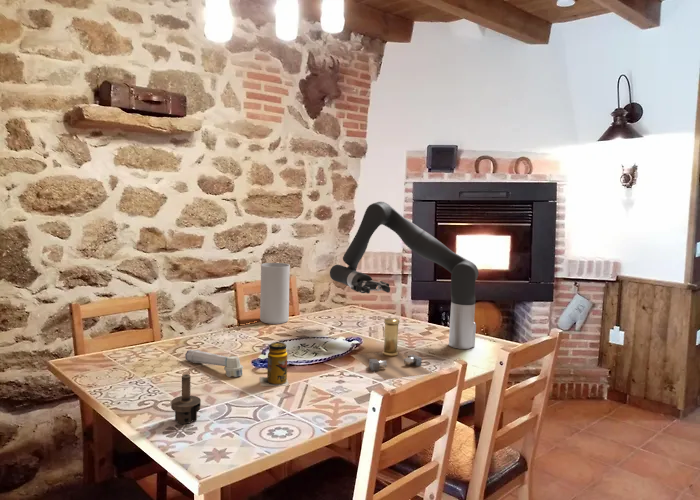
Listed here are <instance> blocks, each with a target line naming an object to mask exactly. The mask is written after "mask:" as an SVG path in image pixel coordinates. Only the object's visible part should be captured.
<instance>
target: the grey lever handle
mask: <svg viewBox="0 0 700 500" xmlns="http://www.w3.org/2000/svg"><path fill="white" fill-rule="evenodd" d="M184 355H185V356H184V357H185V360H186V361H187V362H190V363H194V364H204V365H213V366H221V367H223V369H224V371H225V376H227V378H228V377H229V378H232V377H234V378H237V377H240V376H243V369H244V365H243V364H241V361H240V357H239V356H237V355H236V356H235V355H232V356H227V355H226V356H224V355H223V354H216V353H212V352H207V351H203V350H202V351H201V350H200V349H190V350H189V349H188V350H187V351H186V353H185V354H184Z"/></svg>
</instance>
